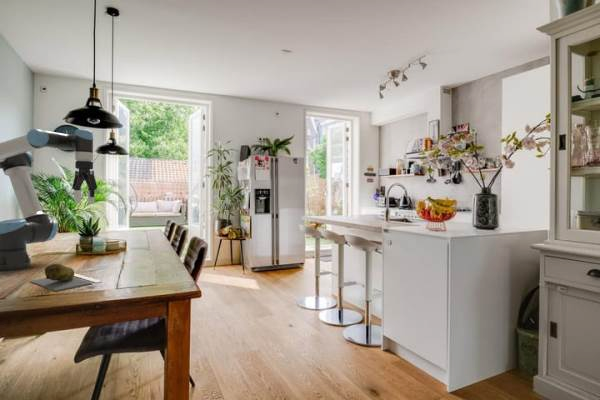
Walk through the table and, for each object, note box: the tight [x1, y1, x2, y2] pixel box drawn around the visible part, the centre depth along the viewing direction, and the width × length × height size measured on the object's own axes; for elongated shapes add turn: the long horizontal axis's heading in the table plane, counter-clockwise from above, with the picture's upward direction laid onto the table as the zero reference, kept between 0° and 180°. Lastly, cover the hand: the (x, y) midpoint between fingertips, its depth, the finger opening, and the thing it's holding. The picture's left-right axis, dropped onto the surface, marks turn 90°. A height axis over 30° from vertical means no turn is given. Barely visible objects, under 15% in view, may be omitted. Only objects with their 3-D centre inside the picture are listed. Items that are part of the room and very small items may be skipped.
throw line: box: [74, 272, 103, 284], centre depth 151 cm, size 24×2×1 cm, turn 57°
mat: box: [29, 277, 93, 292], centre depth 143 cm, size 24×13×1 cm, turn 57°
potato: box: [44, 263, 75, 281], centre depth 143 cm, size 8×13×8 cm, turn 159°
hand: (84, 203), depth 173 cm, fingers open, 13 cm apart
